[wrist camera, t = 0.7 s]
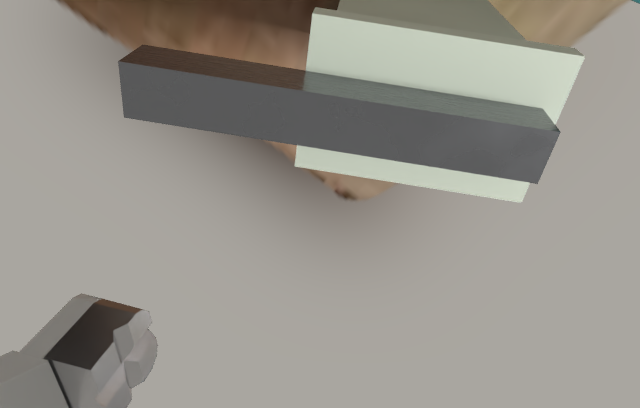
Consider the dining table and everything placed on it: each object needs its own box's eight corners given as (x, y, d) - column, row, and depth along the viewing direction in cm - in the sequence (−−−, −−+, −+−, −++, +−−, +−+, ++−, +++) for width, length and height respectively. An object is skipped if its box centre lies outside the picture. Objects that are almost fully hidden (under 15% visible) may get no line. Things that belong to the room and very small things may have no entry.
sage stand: (328, 47, 51) (294, 166, 30) (341, -47, 46) (312, 13, 25) (459, 68, 51) (521, 202, 30) (486, -24, 46) (585, 56, 25)
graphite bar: (146, 96, 28) (124, 117, 26) (142, 44, 26) (118, 61, 24) (522, 157, 28) (537, 183, 25) (542, 108, 26) (560, 132, 24)
